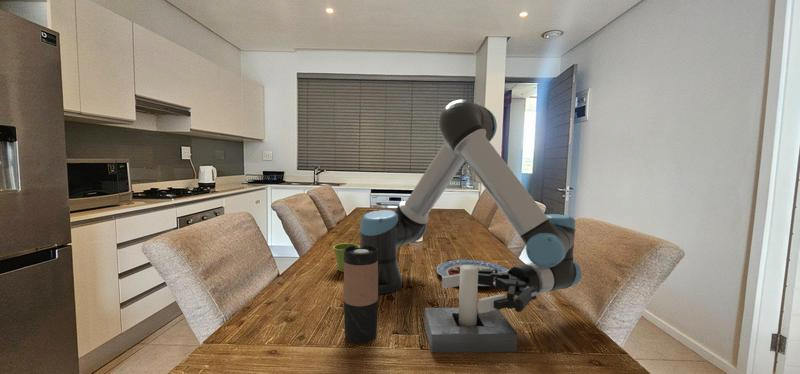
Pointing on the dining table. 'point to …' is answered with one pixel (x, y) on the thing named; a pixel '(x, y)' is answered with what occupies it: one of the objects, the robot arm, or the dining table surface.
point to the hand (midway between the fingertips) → (459, 293)
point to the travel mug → (360, 293)
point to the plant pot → (341, 254)
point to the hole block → (468, 332)
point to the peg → (468, 296)
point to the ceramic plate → (454, 266)
